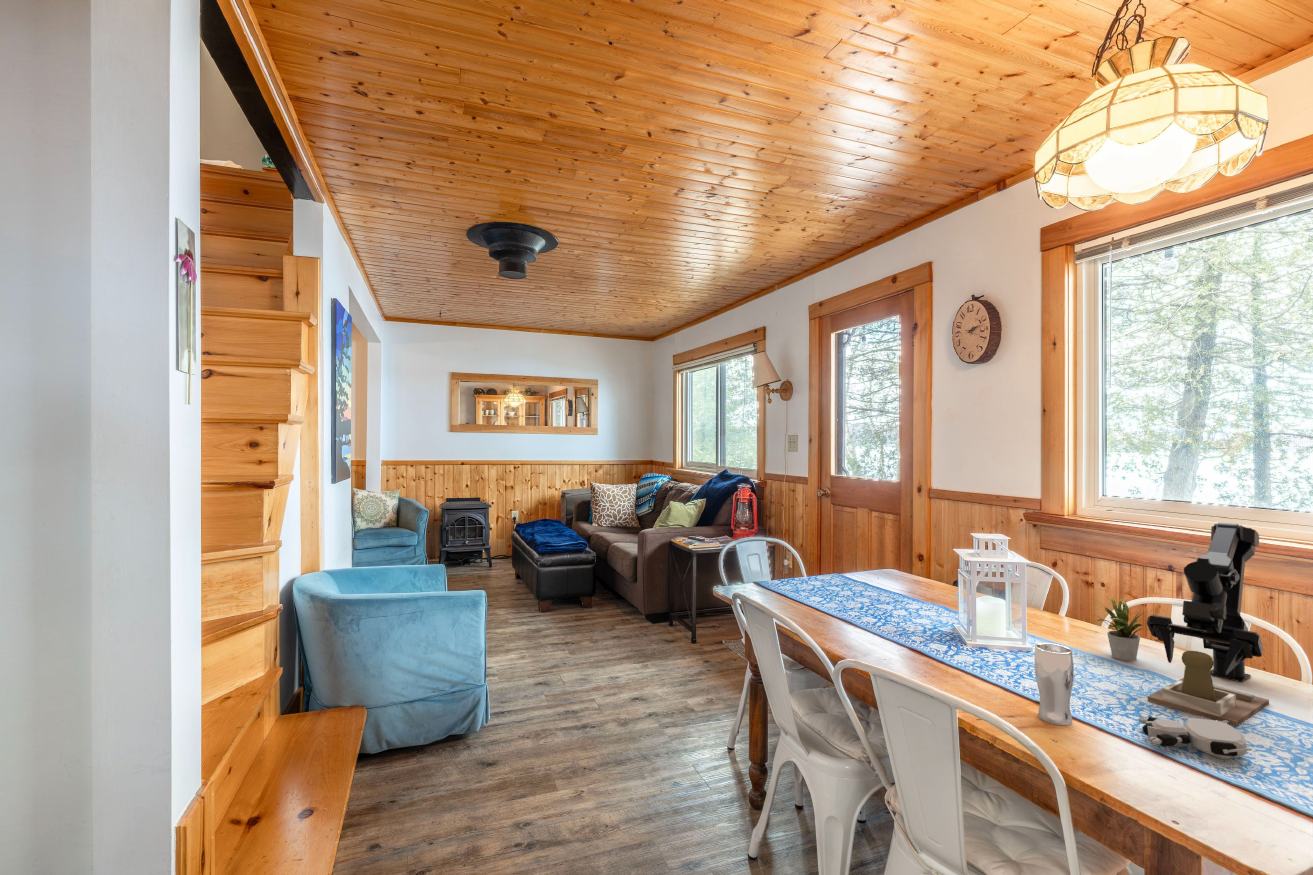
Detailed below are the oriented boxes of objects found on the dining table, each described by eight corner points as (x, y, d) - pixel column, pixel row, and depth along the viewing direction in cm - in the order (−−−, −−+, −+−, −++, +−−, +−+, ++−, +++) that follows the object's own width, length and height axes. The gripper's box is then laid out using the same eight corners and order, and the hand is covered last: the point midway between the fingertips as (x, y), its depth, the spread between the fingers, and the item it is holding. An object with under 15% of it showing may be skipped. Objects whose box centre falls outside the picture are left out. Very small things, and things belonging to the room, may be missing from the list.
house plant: (1076, 646, 172) (1075, 589, 173) (1129, 648, 170) (1128, 590, 171) (1106, 664, 158) (1105, 602, 158) (1165, 666, 156) (1163, 603, 157)
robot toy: (1152, 758, 113) (1259, 771, 106) (1149, 733, 113) (1256, 745, 106) (1137, 730, 124) (1234, 741, 117) (1134, 708, 124) (1231, 717, 117)
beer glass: (1063, 729, 123) (1061, 655, 123) (1028, 716, 129) (1027, 646, 129) (1082, 721, 126) (1080, 650, 126) (1047, 709, 132) (1046, 640, 132)
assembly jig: (1183, 681, 146) (1183, 667, 146) (1269, 704, 133) (1268, 688, 133) (1147, 700, 136) (1147, 685, 136) (1236, 726, 123) (1236, 709, 123)
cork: (1176, 701, 133) (1175, 651, 133) (1184, 694, 136) (1183, 646, 136) (1213, 711, 128) (1211, 659, 128) (1220, 703, 131) (1219, 653, 132)
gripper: (1147, 580, 142) (1134, 636, 135) (1258, 594, 127) (1249, 658, 120) (1158, 607, 147) (1146, 663, 140) (1266, 625, 132) (1258, 688, 125)
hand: (1196, 667), depth 131 cm, fingers open, 9 cm apart
